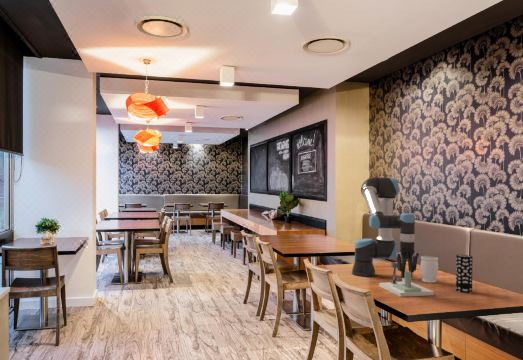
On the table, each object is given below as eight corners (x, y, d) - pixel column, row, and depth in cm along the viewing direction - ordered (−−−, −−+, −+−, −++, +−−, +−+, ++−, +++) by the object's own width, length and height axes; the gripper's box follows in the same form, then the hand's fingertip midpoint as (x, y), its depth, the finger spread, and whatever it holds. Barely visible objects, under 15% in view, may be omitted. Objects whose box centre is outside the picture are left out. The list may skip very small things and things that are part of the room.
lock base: (379, 286, 242) (379, 282, 242) (409, 285, 247) (409, 281, 247) (400, 296, 220) (400, 292, 220) (433, 295, 224) (433, 290, 224)
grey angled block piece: (393, 283, 238) (393, 263, 239) (391, 281, 244) (391, 261, 245) (411, 284, 237) (411, 264, 237) (408, 282, 243) (409, 262, 243)
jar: (439, 283, 251) (440, 259, 252) (421, 282, 253) (422, 258, 254) (436, 279, 262) (436, 256, 262) (418, 278, 264) (419, 255, 264)
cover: (392, 286, 233) (393, 269, 233) (408, 286, 236) (408, 269, 236) (404, 292, 222) (404, 274, 222) (421, 291, 224) (421, 273, 224)
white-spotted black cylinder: (465, 293, 229) (466, 257, 229) (452, 290, 236) (453, 255, 236) (475, 292, 232) (475, 256, 233) (462, 288, 240) (462, 254, 240)
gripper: (398, 242, 224) (397, 285, 223) (423, 242, 227) (423, 284, 227) (391, 240, 231) (390, 282, 231) (415, 240, 234) (415, 281, 234)
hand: (406, 283), depth 229 cm, fingers closed on cover, 2 cm apart
